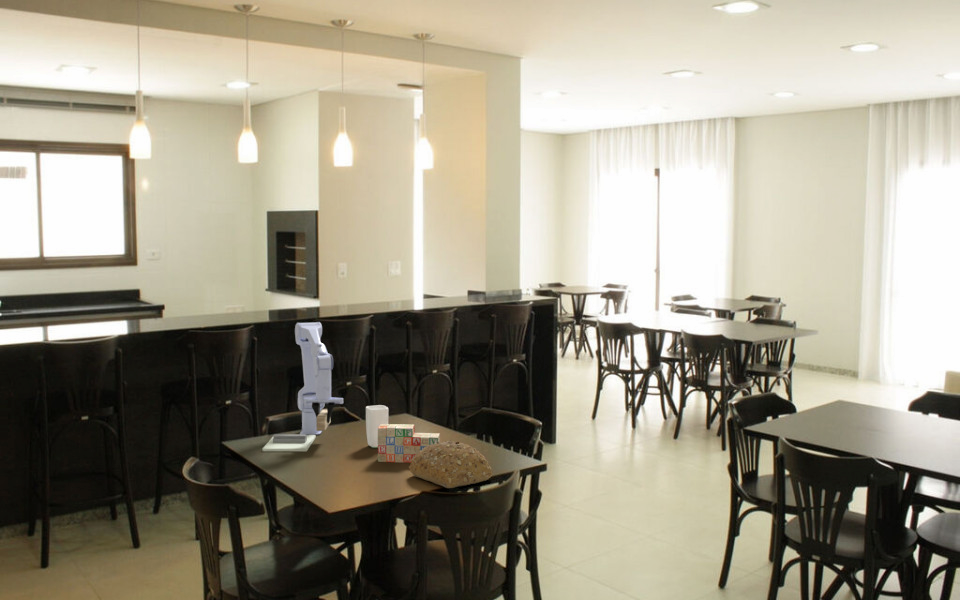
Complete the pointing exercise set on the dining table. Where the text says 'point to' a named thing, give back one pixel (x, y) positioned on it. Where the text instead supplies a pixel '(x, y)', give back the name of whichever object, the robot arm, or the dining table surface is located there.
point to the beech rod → (322, 420)
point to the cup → (375, 422)
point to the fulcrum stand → (289, 442)
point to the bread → (450, 464)
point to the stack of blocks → (402, 442)
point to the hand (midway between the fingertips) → (323, 422)
